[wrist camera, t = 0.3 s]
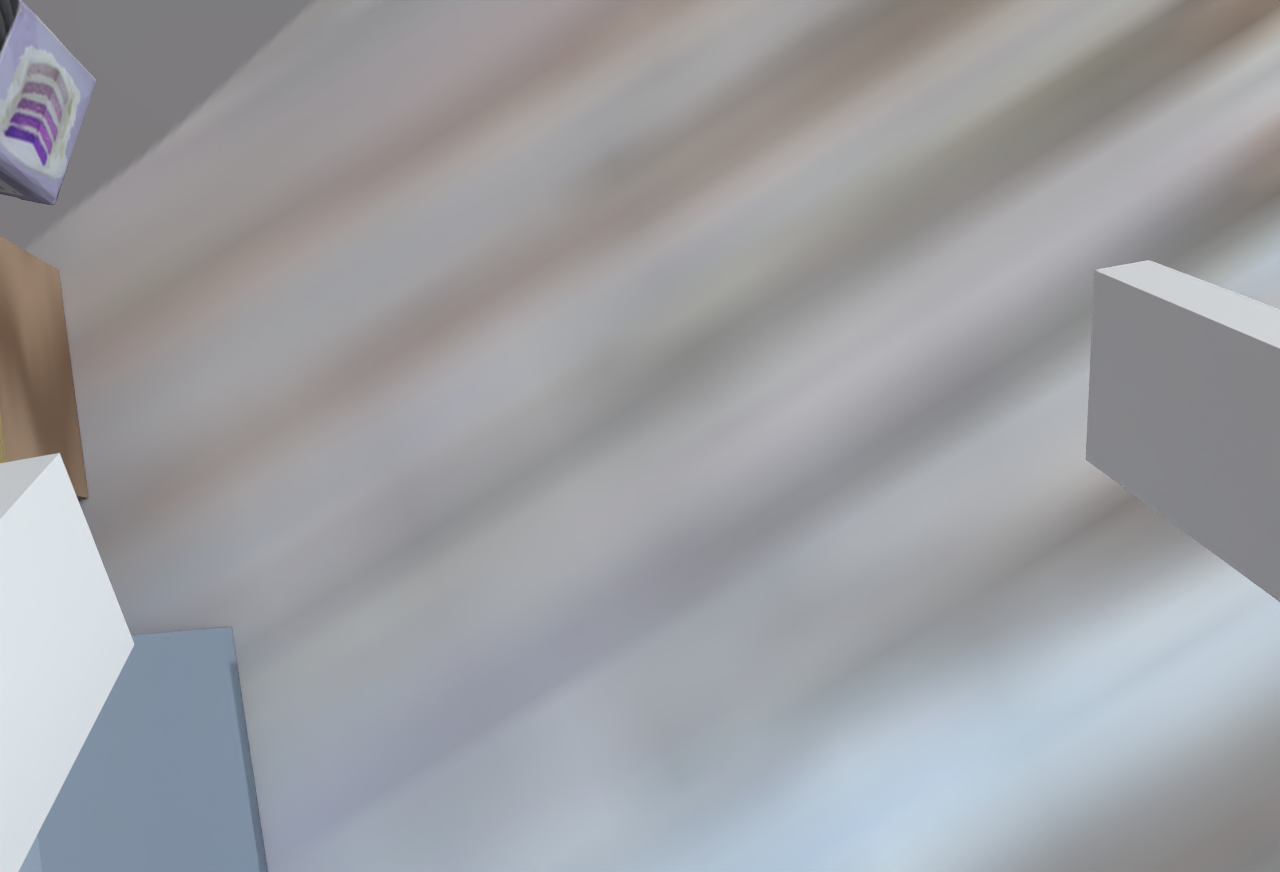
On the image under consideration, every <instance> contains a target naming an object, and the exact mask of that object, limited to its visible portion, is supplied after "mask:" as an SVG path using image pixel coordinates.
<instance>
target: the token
mask: <svg viewBox="0 0 1280 872" xmlns="http://www.w3.org/2000/svg"><path fill="white" fill-rule="evenodd" d="M5 462H6V457H5V448H4V440H3V432H2V423H1V415H0V463H5Z"/></svg>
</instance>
